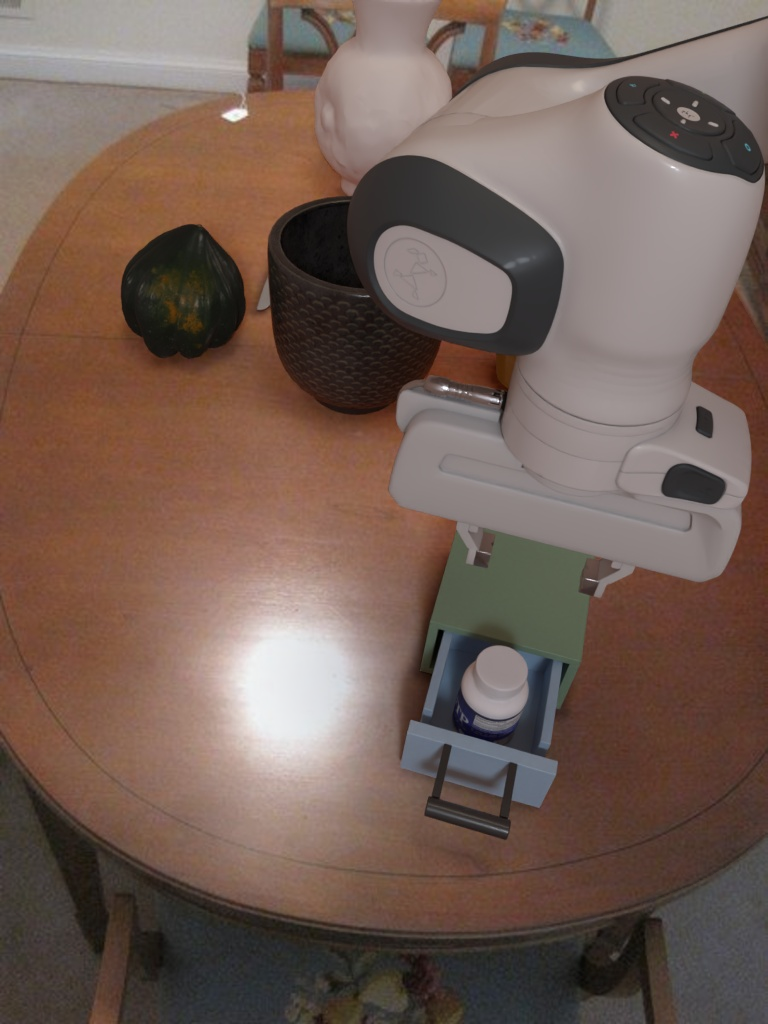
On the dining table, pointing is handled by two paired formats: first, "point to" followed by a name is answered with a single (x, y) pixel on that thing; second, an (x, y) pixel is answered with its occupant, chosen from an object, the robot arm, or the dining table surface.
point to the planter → (335, 316)
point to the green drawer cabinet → (514, 602)
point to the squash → (183, 293)
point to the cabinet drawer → (483, 741)
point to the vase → (378, 86)
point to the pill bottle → (492, 696)
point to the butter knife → (264, 297)
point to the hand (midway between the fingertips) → (533, 573)
